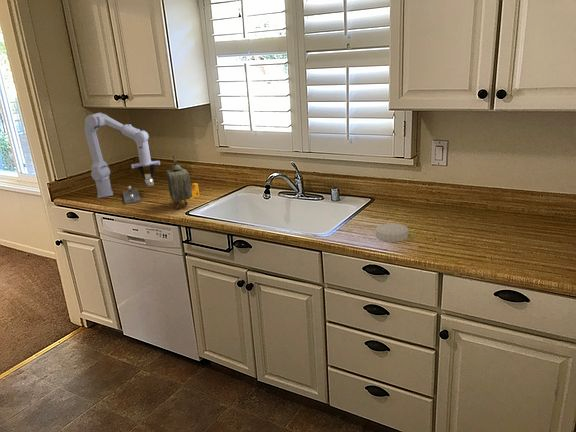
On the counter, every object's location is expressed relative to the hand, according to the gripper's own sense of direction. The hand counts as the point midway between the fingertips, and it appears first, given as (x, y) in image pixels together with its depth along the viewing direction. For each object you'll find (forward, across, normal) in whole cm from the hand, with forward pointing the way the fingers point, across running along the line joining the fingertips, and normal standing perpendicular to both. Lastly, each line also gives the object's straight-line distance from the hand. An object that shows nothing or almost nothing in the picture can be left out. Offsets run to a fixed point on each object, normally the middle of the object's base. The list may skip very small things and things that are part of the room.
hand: (148, 179), depth 251 cm
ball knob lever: (+2, 0, 0) cm, 2 cm away
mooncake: (+8, +77, -114) cm, 138 cm away
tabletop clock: (+8, +12, -30) cm, 33 cm away
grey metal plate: (+8, -10, 0) cm, 13 cm away
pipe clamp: (+8, +17, -20) cm, 27 cm away
